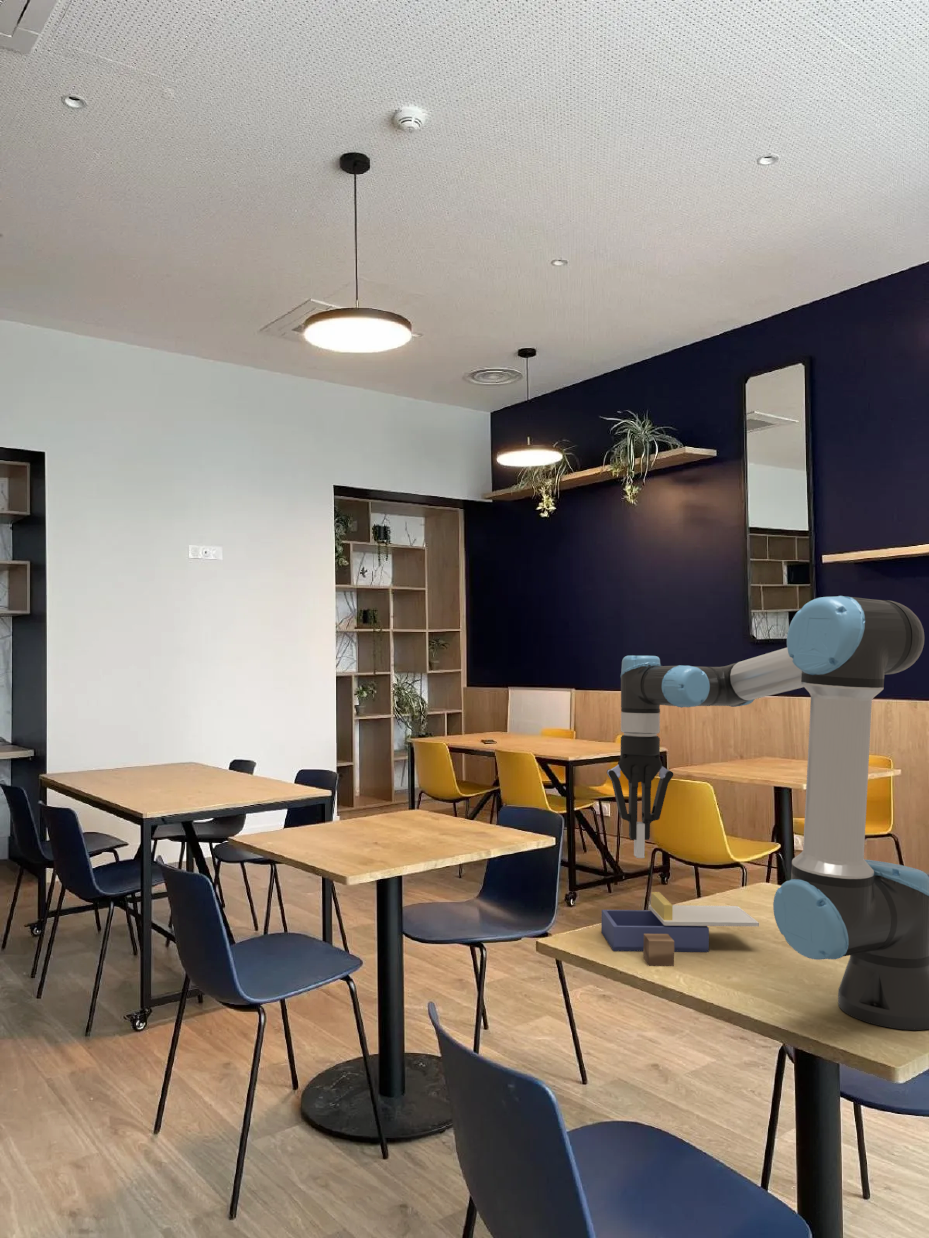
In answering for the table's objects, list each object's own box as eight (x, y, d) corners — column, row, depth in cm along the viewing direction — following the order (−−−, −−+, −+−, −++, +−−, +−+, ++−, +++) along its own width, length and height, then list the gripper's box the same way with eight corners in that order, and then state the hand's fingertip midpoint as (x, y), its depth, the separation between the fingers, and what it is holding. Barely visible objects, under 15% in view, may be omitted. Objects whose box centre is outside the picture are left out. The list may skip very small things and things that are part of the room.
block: (674, 966, 167) (674, 941, 167) (649, 966, 167) (649, 940, 167) (667, 958, 171) (668, 933, 172) (643, 958, 171) (643, 933, 172)
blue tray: (708, 952, 176) (708, 927, 176) (613, 951, 175) (613, 926, 175) (690, 933, 188) (690, 910, 188) (601, 932, 187) (601, 909, 187)
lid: (758, 926, 176) (759, 907, 176) (664, 925, 175) (664, 906, 176) (737, 909, 188) (737, 891, 188) (648, 908, 187) (649, 890, 188)
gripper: (668, 733, 187) (667, 853, 186) (603, 732, 186) (602, 852, 185) (678, 736, 179) (677, 860, 178) (610, 735, 179) (609, 860, 178)
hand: (639, 856), depth 182 cm, fingers closed
